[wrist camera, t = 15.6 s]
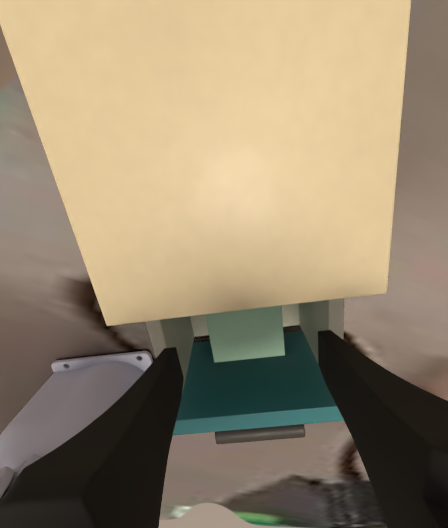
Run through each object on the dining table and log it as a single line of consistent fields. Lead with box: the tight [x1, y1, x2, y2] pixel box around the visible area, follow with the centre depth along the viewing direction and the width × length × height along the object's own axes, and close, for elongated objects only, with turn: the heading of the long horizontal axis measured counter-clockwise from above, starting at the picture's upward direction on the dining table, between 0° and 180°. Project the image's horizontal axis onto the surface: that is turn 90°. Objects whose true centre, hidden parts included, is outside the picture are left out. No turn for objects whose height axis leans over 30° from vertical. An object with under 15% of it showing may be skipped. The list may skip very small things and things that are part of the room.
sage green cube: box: [205, 306, 285, 363], centre depth 17 cm, size 4×4×4 cm
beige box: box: [0, 0, 411, 326], centre depth 13 cm, size 15×13×9 cm
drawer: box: [145, 298, 344, 444], centre depth 17 cm, size 18×11×7 cm, turn 8°
